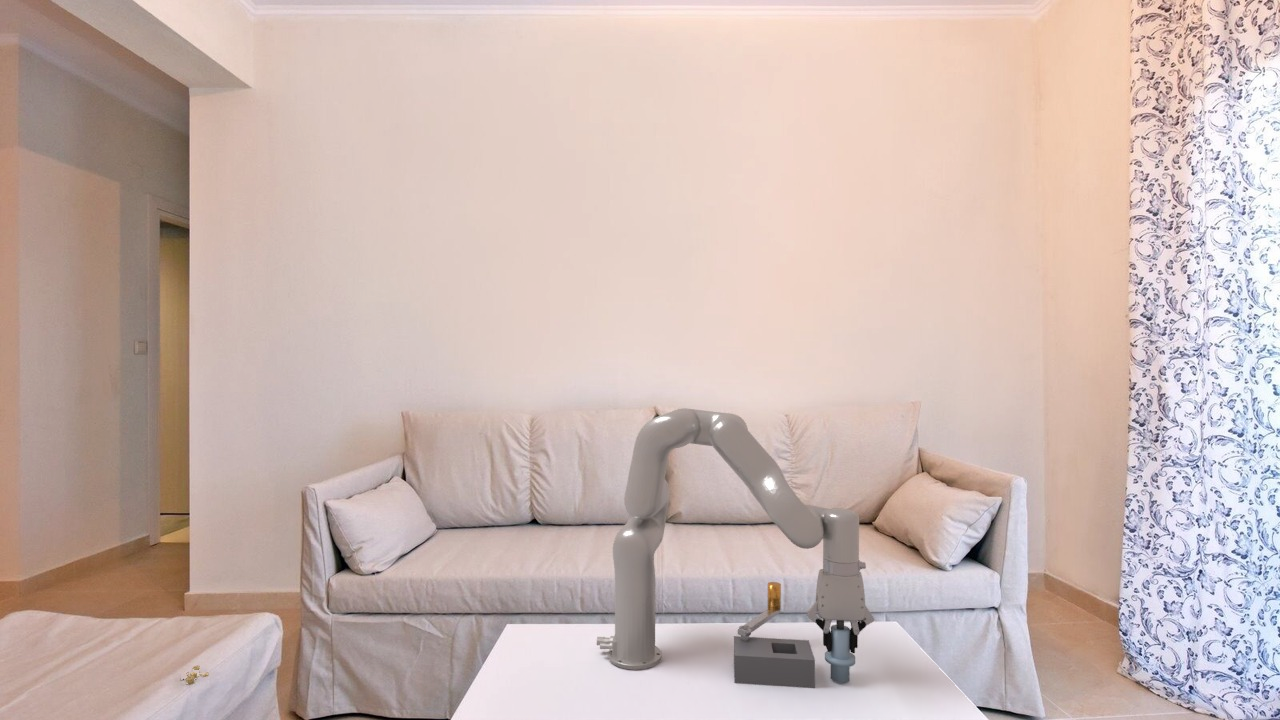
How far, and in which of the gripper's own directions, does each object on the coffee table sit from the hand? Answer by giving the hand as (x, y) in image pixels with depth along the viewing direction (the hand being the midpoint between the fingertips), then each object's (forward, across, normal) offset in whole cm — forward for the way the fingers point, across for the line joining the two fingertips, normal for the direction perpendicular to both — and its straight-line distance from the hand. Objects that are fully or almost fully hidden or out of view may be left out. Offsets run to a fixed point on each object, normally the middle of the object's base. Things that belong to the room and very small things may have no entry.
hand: (840, 649), depth 144 cm
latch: (0, +17, -11) cm, 20 cm away
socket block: (+7, +14, -1) cm, 16 cm away
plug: (+6, 0, 0) cm, 6 cm away
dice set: (+8, +141, +17) cm, 142 cm away
